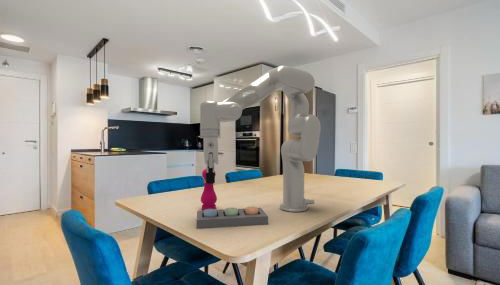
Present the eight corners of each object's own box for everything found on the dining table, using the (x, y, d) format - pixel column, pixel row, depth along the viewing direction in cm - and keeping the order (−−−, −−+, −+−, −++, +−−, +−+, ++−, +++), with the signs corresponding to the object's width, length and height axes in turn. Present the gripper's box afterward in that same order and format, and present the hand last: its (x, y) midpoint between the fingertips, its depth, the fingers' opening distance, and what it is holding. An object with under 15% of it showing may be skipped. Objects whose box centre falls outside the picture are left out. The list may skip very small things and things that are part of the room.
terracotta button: (256, 214, 103) (256, 206, 103) (259, 217, 98) (259, 209, 98) (244, 214, 102) (244, 207, 102) (246, 218, 97) (246, 210, 97)
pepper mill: (213, 211, 112) (213, 165, 112) (198, 210, 113) (198, 165, 113) (219, 207, 119) (219, 164, 119) (204, 206, 120) (204, 163, 120)
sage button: (236, 215, 102) (236, 207, 102) (238, 218, 97) (238, 211, 97) (224, 215, 101) (224, 208, 101) (225, 219, 96) (225, 211, 96)
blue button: (216, 216, 100) (216, 208, 100) (217, 220, 95) (217, 212, 95) (203, 216, 99) (203, 209, 99) (203, 220, 94) (203, 212, 94)
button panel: (260, 214, 107) (260, 207, 107) (268, 224, 95) (268, 216, 95) (197, 218, 102) (197, 210, 102) (196, 228, 91) (196, 220, 91)
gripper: (221, 134, 90) (221, 186, 90) (218, 134, 105) (218, 179, 106) (200, 133, 89) (200, 187, 89) (200, 134, 104) (200, 180, 104)
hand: (210, 182), depth 97 cm, fingers closed
